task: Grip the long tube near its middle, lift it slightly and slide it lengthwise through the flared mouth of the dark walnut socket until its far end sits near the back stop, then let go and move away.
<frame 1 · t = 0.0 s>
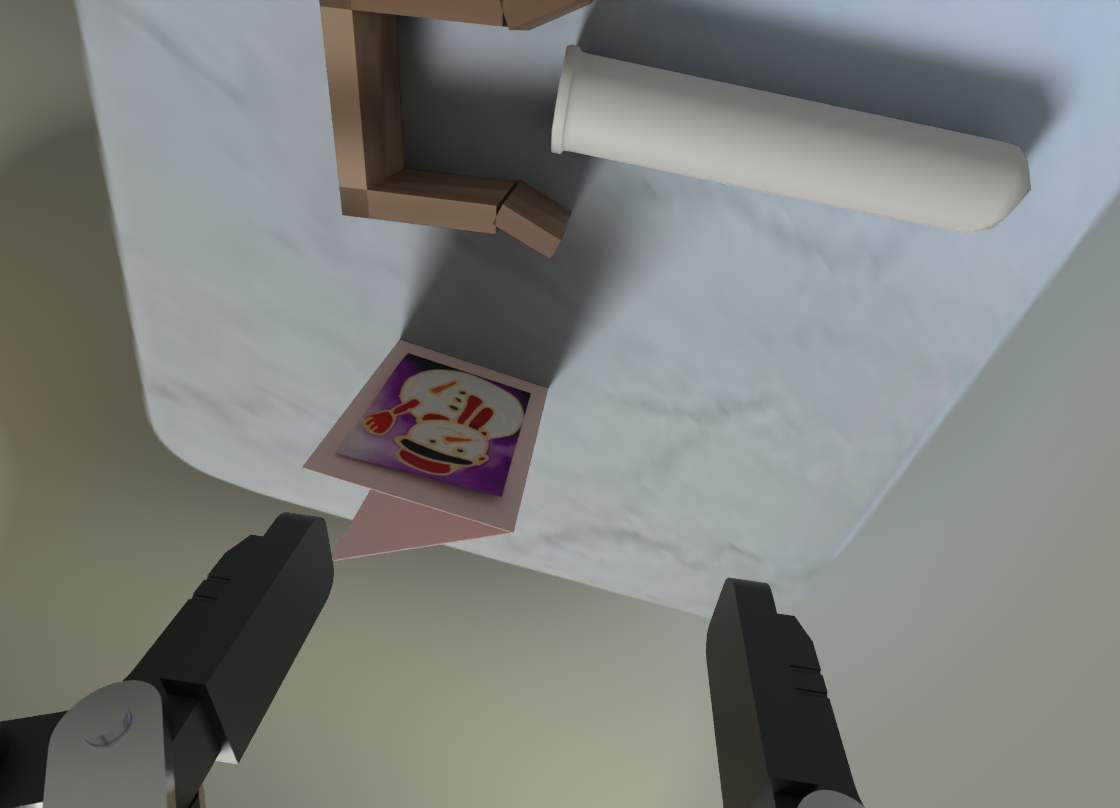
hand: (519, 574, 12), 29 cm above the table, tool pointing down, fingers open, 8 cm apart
socket block: (451, 101, 34), on the table
tube: (778, 139, 34), on the table
greeting card: (466, 393, 45), on the table
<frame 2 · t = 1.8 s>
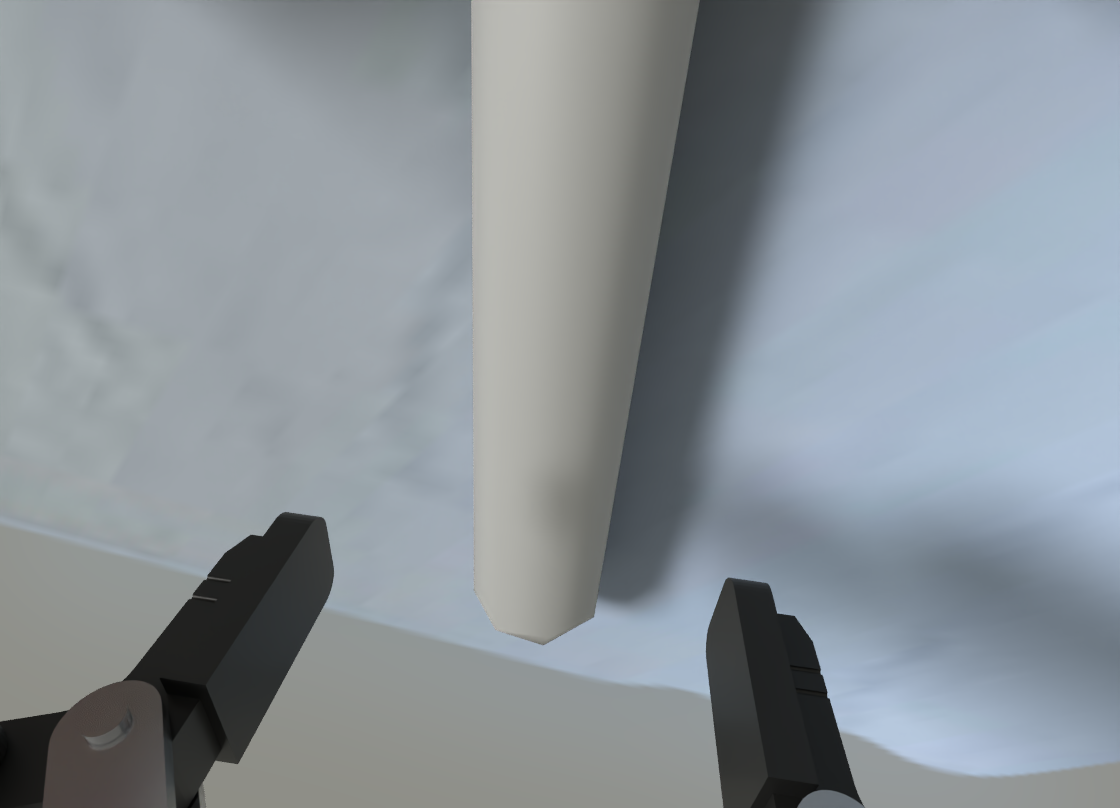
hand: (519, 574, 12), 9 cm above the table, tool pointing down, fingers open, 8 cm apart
tube: (568, 299, 19), on the table
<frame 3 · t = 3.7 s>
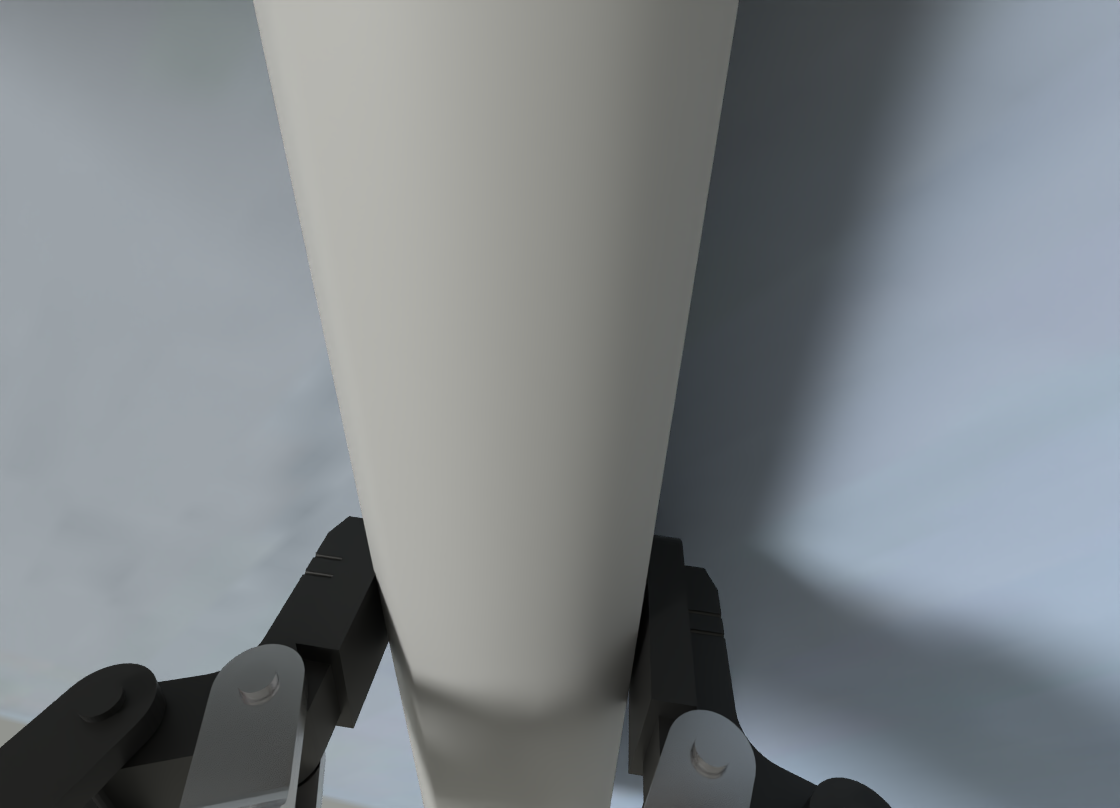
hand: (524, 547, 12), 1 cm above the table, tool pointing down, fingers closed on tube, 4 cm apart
tube: (535, 427, 12), on the table, touching gripper
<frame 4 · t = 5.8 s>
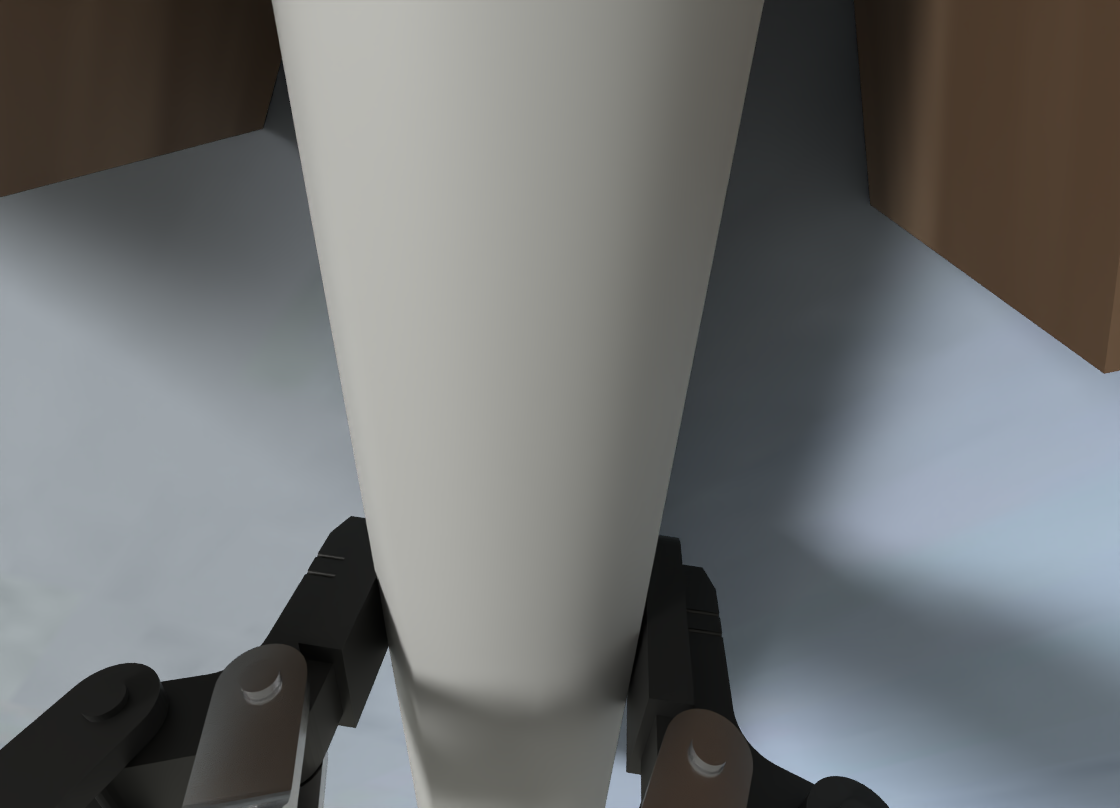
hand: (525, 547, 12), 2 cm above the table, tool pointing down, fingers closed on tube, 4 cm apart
tube: (537, 429, 12), point 1 cm above the table, touching gripper
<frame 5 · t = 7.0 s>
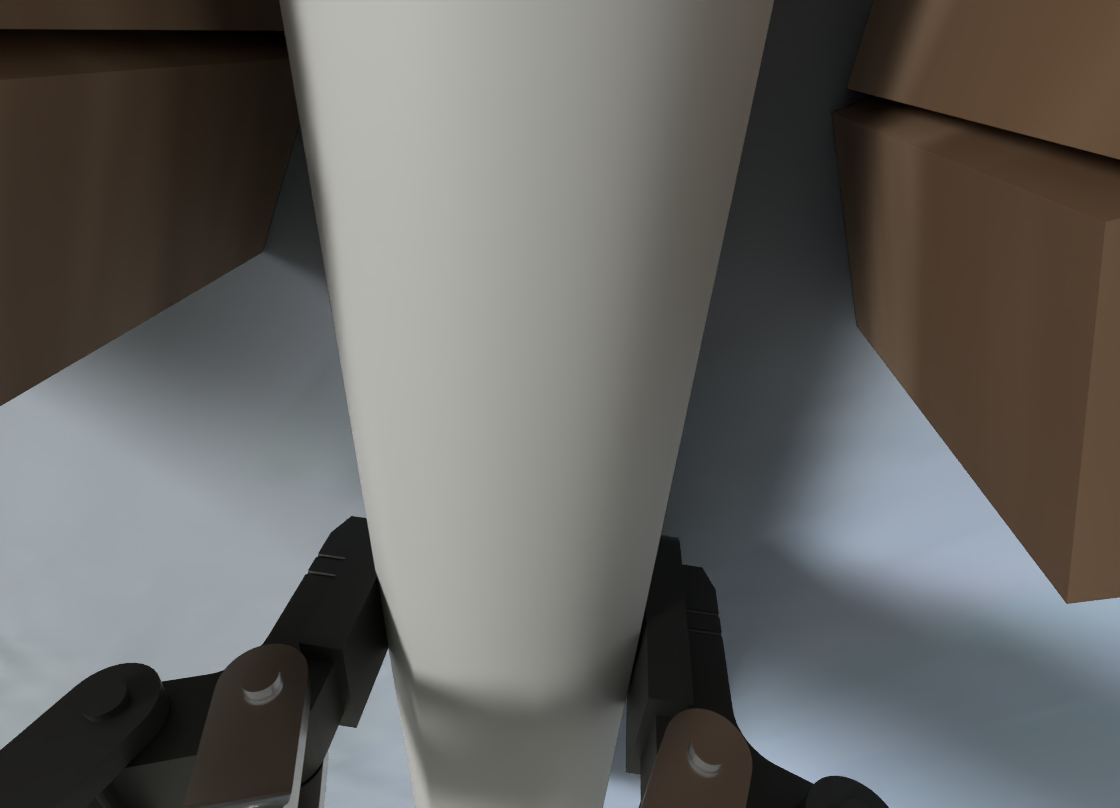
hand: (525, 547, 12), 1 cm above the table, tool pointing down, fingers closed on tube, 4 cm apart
tube: (538, 430, 12), on the table, touching gripper
when the fingers open (1 cm above the table, at t = 7.9 s): tube stays where it is, on the table.
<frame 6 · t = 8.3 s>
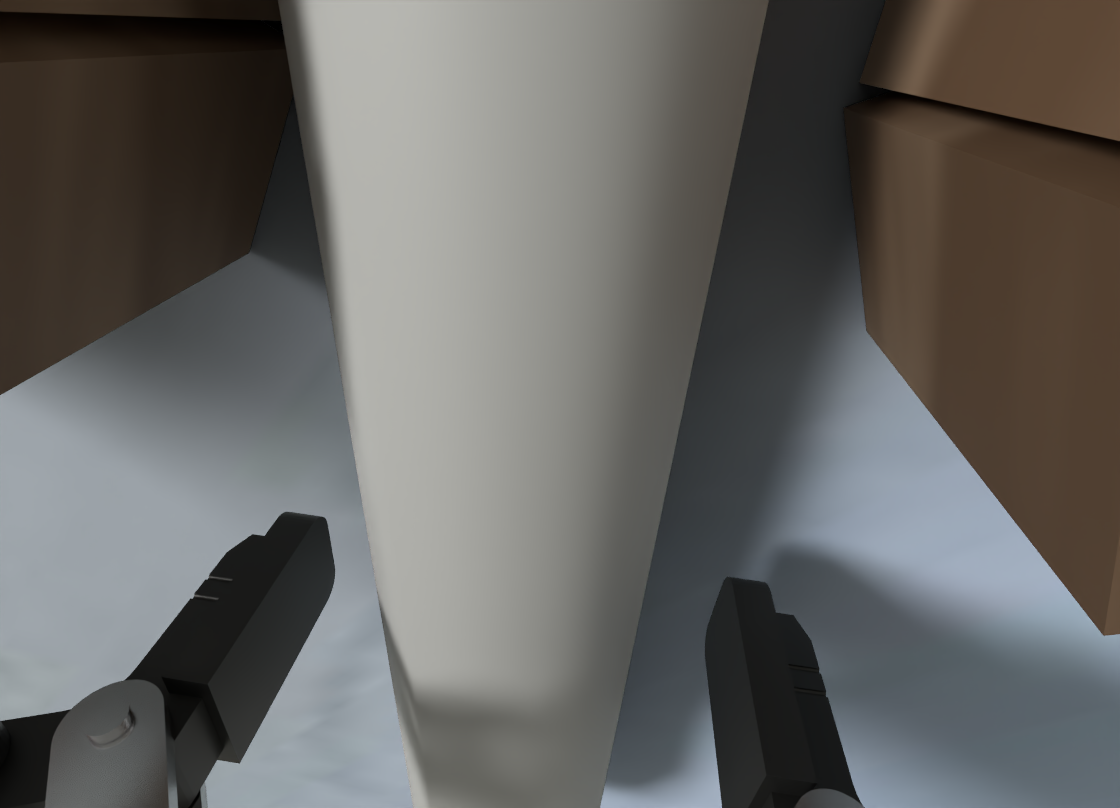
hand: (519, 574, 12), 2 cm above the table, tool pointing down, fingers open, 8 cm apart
tube: (536, 425, 12), on the table
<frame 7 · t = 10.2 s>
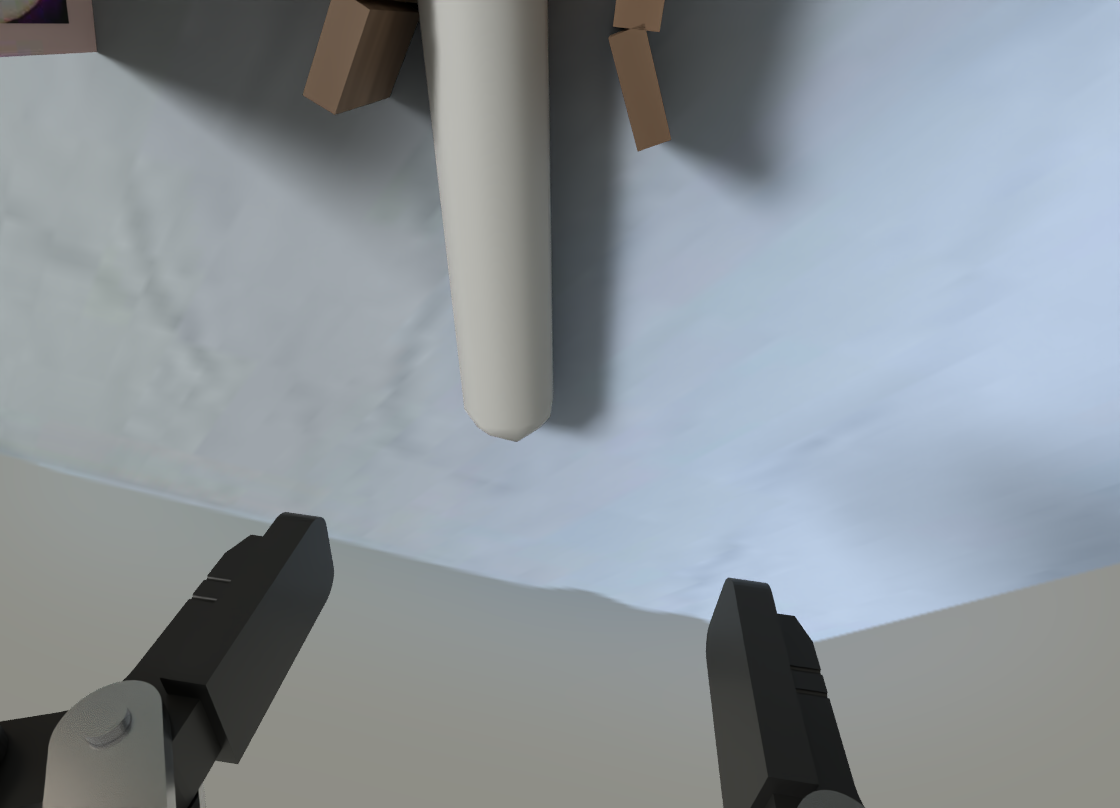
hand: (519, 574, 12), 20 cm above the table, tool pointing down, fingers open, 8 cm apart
tube: (506, 183, 28), on the table
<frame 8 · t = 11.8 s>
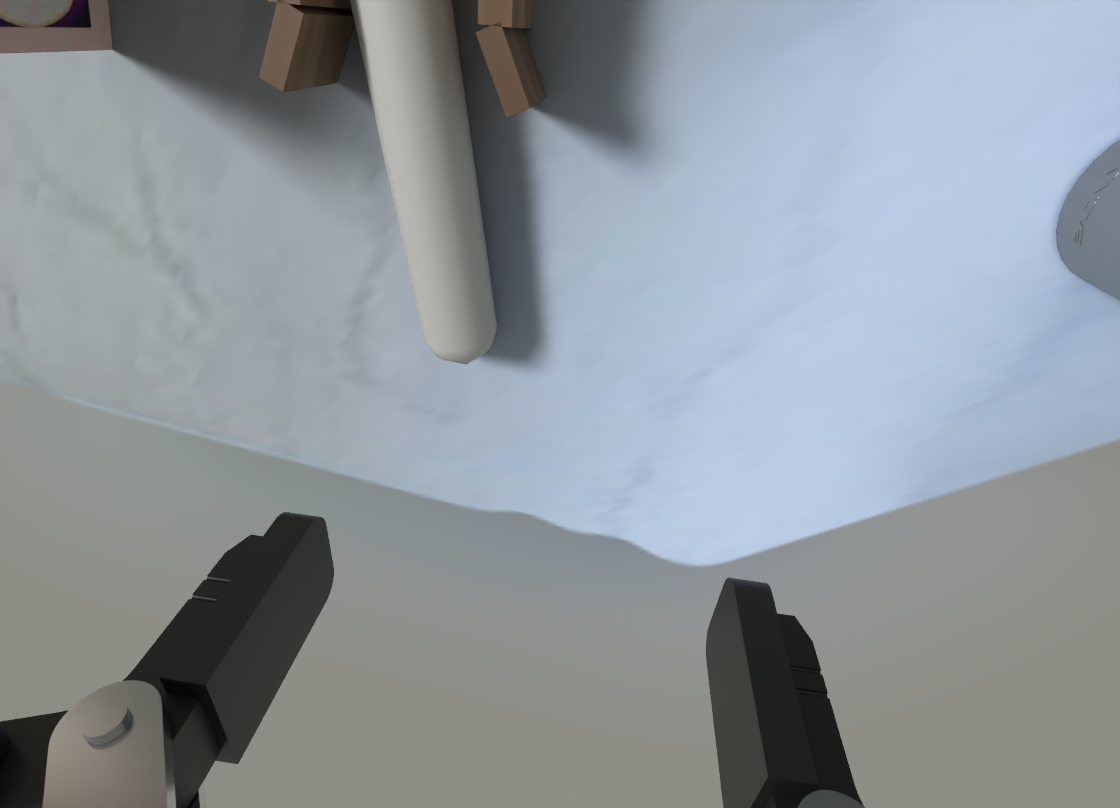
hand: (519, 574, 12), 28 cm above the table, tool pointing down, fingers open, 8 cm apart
tube: (443, 151, 35), on the table
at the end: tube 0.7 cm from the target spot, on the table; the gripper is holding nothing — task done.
